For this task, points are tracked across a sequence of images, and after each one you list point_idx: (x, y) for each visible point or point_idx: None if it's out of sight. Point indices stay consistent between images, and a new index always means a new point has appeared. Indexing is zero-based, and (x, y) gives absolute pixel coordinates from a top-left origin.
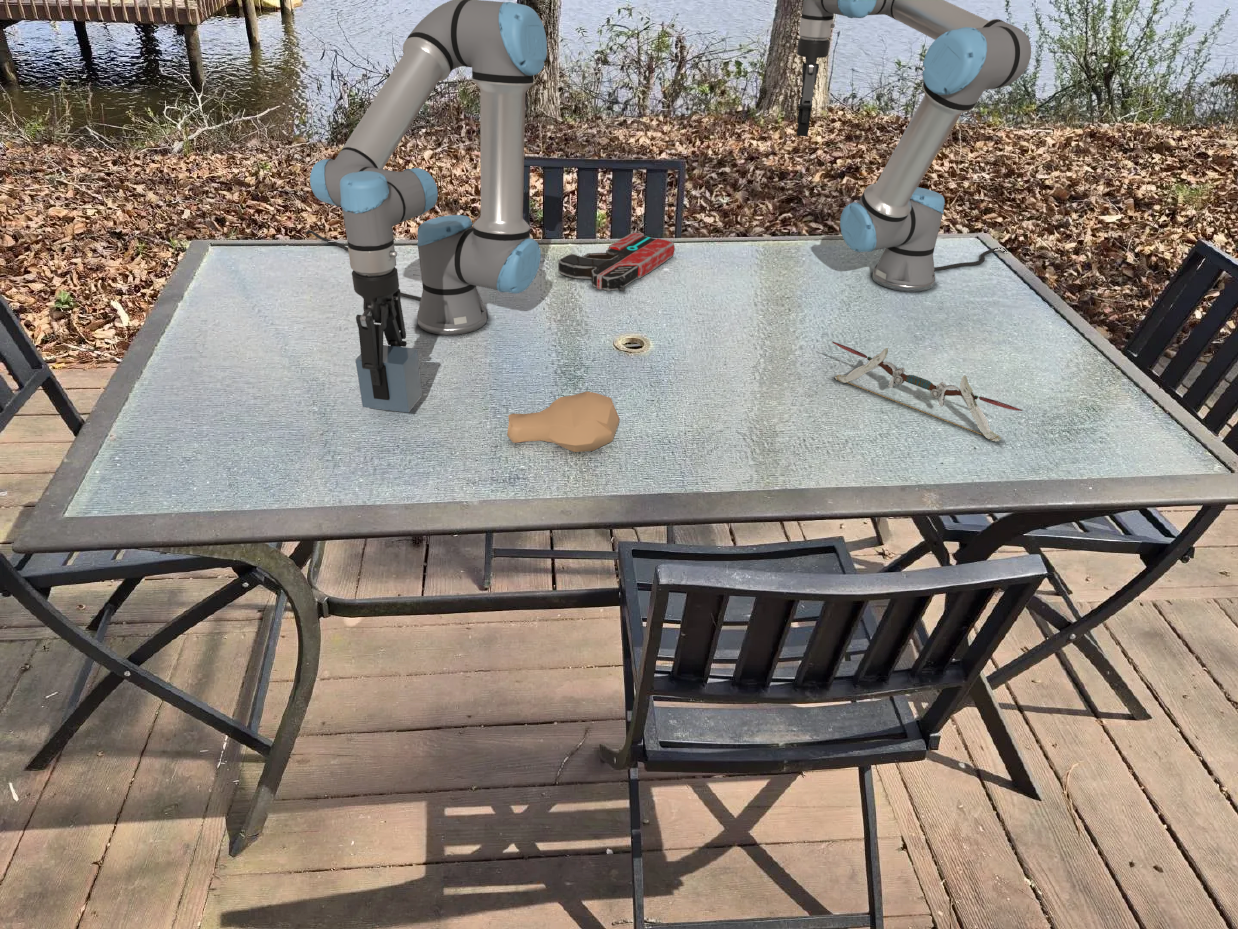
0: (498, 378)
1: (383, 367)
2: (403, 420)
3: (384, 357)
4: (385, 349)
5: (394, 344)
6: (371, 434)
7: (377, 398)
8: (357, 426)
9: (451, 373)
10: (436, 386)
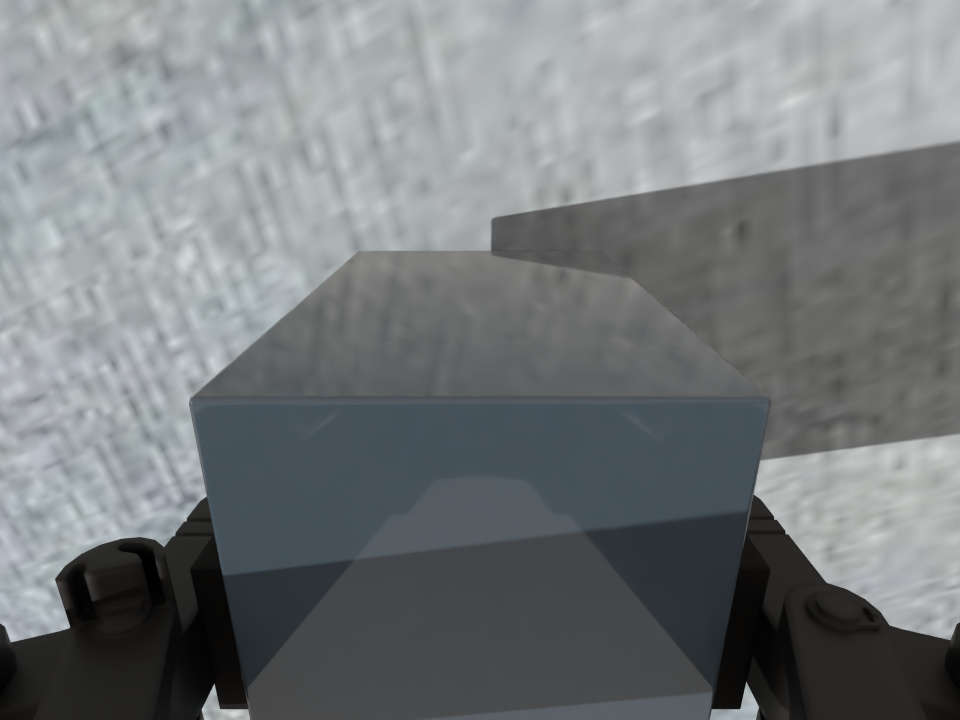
0: None
1: (223, 703)
2: None
3: (378, 700)
4: (603, 639)
5: (770, 676)
6: (235, 343)
7: None
8: (283, 234)
9: (948, 504)
10: (793, 478)
